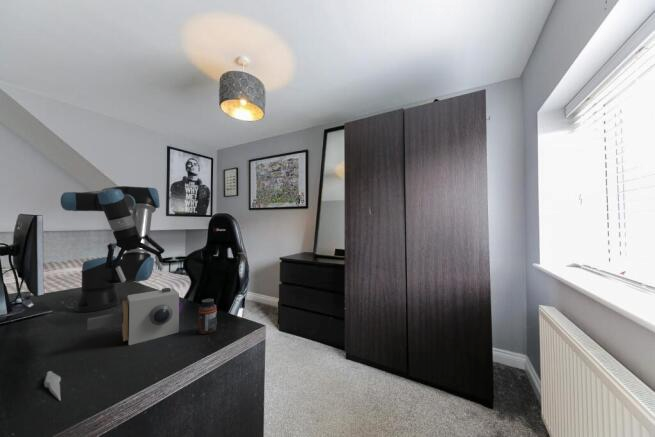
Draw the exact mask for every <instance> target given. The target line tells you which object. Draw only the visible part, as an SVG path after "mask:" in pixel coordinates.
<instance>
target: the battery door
mask: <svg viewBox="0 0 655 437" xmlns="http://www.w3.org/2000/svg"><path fill="white" fill-rule="evenodd" d="M86 323H87V325H86V326H87V327H86V330H87V331H90V330H97V329H99V328H104V327H110V326H114V325H119V324H121V333H122V334H121V335H122V341H123V342H125V341H128V304H127V300H126V299H125V300H122V311H120V312H116V313H109V314H105V315H100V316H92V317H88V318H87V322H86Z"/></svg>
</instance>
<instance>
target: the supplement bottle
mask: <svg viewBox="0 0 655 437" xmlns="http://www.w3.org/2000/svg"><path fill="white" fill-rule="evenodd" d="M214 303H215V300H214V298H206V299H202V300H201V306H199V307H198V323H197V324H198V326H197V328H198V333H199V334H201V335H206V334H207V335H208V334H211V333H214V332H215V331H216V330H217V320H218V319H217V313H218V312H217V309H218V308H217V305H216V304H214Z"/></svg>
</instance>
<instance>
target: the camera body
mask: <svg viewBox="0 0 655 437" xmlns="http://www.w3.org/2000/svg"><path fill="white" fill-rule="evenodd" d="M126 299H127V304H128V340H127V344H128V346H132V345H135V344H140V343H144V342H147V341H151V340H155V339H158V338H162V337H163V338H164V337H166V336H169V335H173V334H178V333H179V329H180V312H179V301H180V292H178V291H177V290H176V289H175V288H174V287H172V288H170V287H165V288H161V289H160V290H153V291H152V290H151V291H146V292H141V293H140V292H139V293H134V294H128V295H127V298H126Z"/></svg>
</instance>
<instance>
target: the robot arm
mask: <svg viewBox="0 0 655 437" xmlns="http://www.w3.org/2000/svg"><path fill="white" fill-rule="evenodd" d="M158 192H159V191H158V189H157V188H155V187H148V186H145V187H143V186H129V185H126V186H125V185H124V186H123V185H121V186H112V187H105V188H102V189H101V190H96V191H95V190H93V191H83V192H76V191H66V192H63V193H62V194H61V196H60V206H61V208H62V209H63V210H64V211H68V212H70V211H71V212H104V215H105V217H106V219H107V222H108V225H109V226H110V229H111V230H112V231H113V232H112V234H113V237H114V240H115V243H113V242H111V243H109V244H107V246H106V247H107V256H105V257H99V258H93V259H88V260H85V261H84V262H83V263H82V268H81V293H80V296H79V298H78V300H77V302H76V304H75V312H77V313H90V312H97V311H103V310H106V309H110V308H115V307H117V306H118V305H119V304H120V297H119V295H118V292H117V290H116V284H121V283H123V284H124V283H137V282H142V281H147V280H149V279H150V278H151V276H152V274H153V270H154V264H155V262H156V264H157V266H158V269H159V271H163V269H164V266H163V265H162V263H163V261H164V260H163V256H162V254H163V253H164V252H165V248H163V247H162V246H161V245H159V244H158V243H157V242H156V241H155V240H154V239H152V238H151V235H150V234H151V225H152V217H153V216H152V215H153V213H154V212H156V209H159V208H160V203H161V202H160V196H159V193H158ZM131 211H132V212H131ZM149 245H151V246H152V247H150V246H149ZM116 247H117V248H120V250H119V252H118V254H117V256H116V255H115V256H114V254H115V249H116ZM154 248H155V249H154ZM151 254H153V255H155V256H154V257H152V255H151Z"/></svg>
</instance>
